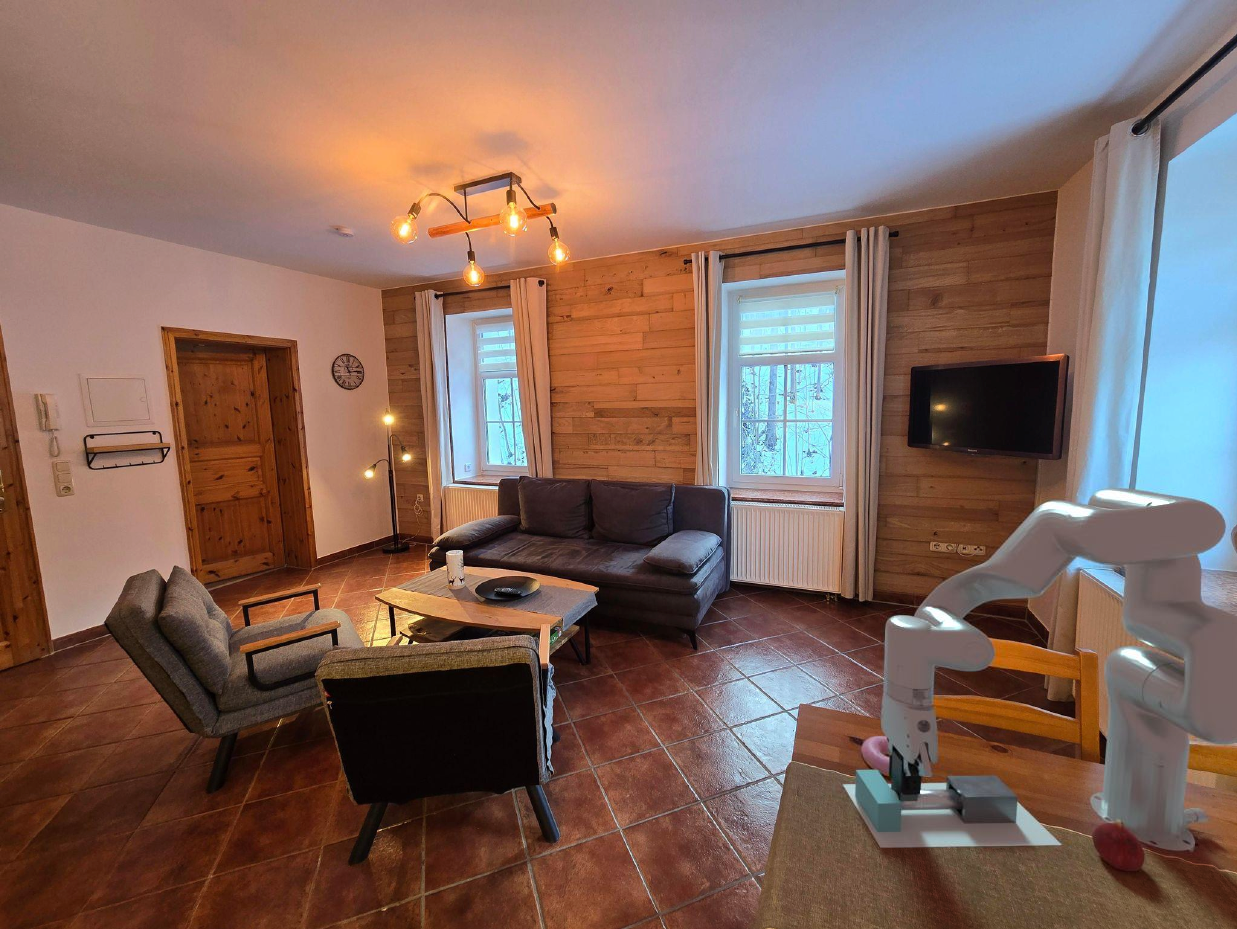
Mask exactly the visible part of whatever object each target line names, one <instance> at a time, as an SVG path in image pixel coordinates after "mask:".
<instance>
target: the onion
mask: <svg viewBox="0 0 1237 929" xmlns="http://www.w3.org/2000/svg"><path fill="white" fill-rule="evenodd" d="M1091 838H1092V843H1093V846H1094V848H1095V850H1096V851H1097V853H1098V854H1099V856H1100V857H1101V858H1102V859H1103V860H1104V862H1106V863H1107V864H1108V865H1110V866H1112V867H1113V868H1115V869H1118V870H1121V871H1124V872H1135V871H1137V870H1140V869H1141V868H1142V867H1143V865H1144V863H1145V857H1146V855H1145V850H1144V848H1143V846H1142V843H1141V841H1139V840H1138V839H1137V838H1136V836H1135V835H1134V834H1133V833H1131V832H1130V831H1129V830H1128V829H1127V828H1125V827H1124V825H1123V822H1122V821H1121V820H1119V819H1117V820H1116V821H1115V822H1114V823H1108V822H1104V823H1101V824H1099V825H1097V826H1096V827H1095V829H1094V831H1092V836H1091Z"/></svg>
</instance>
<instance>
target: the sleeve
mask: <svg viewBox="0 0 1237 929" xmlns="http://www.w3.org/2000/svg"><path fill="white" fill-rule="evenodd" d="M945 783H946V789H956V790H957V791H958V792H959V794H960V795H961V796H962V797H963V809H954V810H953V811H954V812H955V813H956V814H957V815H958V817H959V818H960V819H961V820H962V821H963V823H964V824H972V823H1016V815H1017V802H1018V798H1019V797H1018V795H1017V794H1016V793H1015V792H1014V791H1013V790H1012V789H1010V787H1008V785H1006V784H1005V783H1004V782H1003V781H1002V779H1000V777H998V776H997V775H946V782H945Z"/></svg>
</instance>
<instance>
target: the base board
mask: <svg viewBox="0 0 1237 929" xmlns="http://www.w3.org/2000/svg"><path fill="white" fill-rule="evenodd" d="M887 784H888V785H889V787H890V788H891V783H887ZM842 786H843V788H844V789H845V791H846V792H847V794H848V795H849V797H850V799H851V801H852V802H853V804H854V806H855V808H856V809H857V811H858V812H859V814H860V816H861V818H862V820H863V821H864V822H865V824H866V826H867V827H868V829H869V831H870V832H871V834H872V836H873V837H874V839H875V841H876V843H877V844H878V846H879V847H880V848H882V849H884V848H889V849H891V848H893V849H894V848H946V847H947V848H950V847H953V848H957V847H959V848H960V847H961V848H962V847H964V848H965V847H967V848H968V847H1022V846H1023V847H1025V846H1027V847H1028V846H1031V847H1032V846H1033V847H1035V846H1036V847H1037V846H1038V847H1039V846H1041V847H1043V846H1046V847H1047V846H1063V845H1062V843H1060V842H1059V840H1057V839H1056V837H1055V836H1054V835H1052V833H1051V832H1049V831H1048V829H1047V828H1045V827H1044V826H1043V825H1042V824H1041V822H1039V821H1038V820H1037V819H1036V818H1035V817H1034V816H1033V815H1032V814H1031V813H1030V812H1029V811H1028V810H1027V809H1026V808H1025V807H1024V806H1023V805H1021V804H1020V803H1019V802H1018V801H1017V815H1016V823H972V824H964V823H963V821H962V820H961V819H960V818H959V817H958V815H957V814H956V813H955V812H954V811H953V810H901V832H877V831H876V829H875V828H874V826H873V824H872V823H871V821H870V819H869V818H868V816H867V815H866V813H865V811H864V810H863V808H862V806H861V805H860V803H859V802H858V800H857V798H856V797H855V786H856V783H854V784H853V783H850V784H848V783H846V784H844V783H843V784H842ZM935 789H946V782H927V783H926V782H925V783H922V782H921V790H935Z"/></svg>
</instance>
